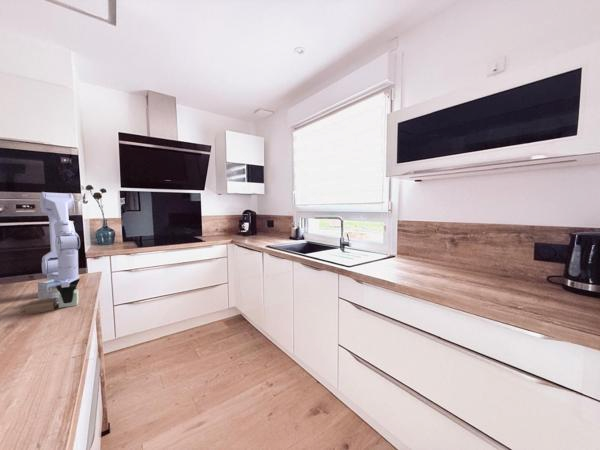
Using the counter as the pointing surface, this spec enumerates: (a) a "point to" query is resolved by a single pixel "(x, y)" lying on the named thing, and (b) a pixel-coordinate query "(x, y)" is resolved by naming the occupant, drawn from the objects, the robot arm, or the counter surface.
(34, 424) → the counter surface
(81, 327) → the counter surface
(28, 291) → the counter surface
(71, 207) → the robot arm
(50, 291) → the medicine box
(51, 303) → the walnut block
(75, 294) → the sage cube
